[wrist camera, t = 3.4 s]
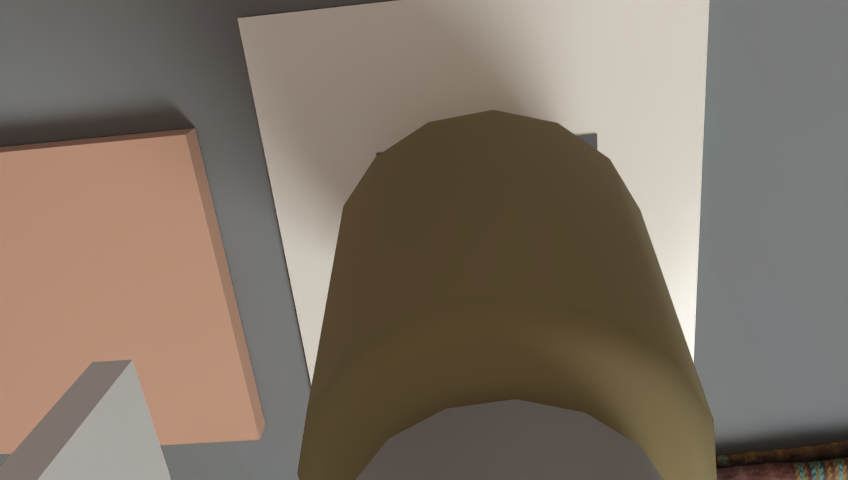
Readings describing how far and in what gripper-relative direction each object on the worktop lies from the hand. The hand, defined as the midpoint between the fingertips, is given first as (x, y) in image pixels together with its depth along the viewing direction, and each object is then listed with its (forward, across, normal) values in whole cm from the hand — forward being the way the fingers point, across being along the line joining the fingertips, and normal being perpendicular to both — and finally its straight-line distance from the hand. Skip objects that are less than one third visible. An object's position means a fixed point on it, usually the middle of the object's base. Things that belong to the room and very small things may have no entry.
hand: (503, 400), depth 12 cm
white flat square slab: (+10, 0, 0) cm, 10 cm away
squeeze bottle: (+10, 0, 0) cm, 10 cm away
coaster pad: (+10, +14, +2) cm, 18 cm away
